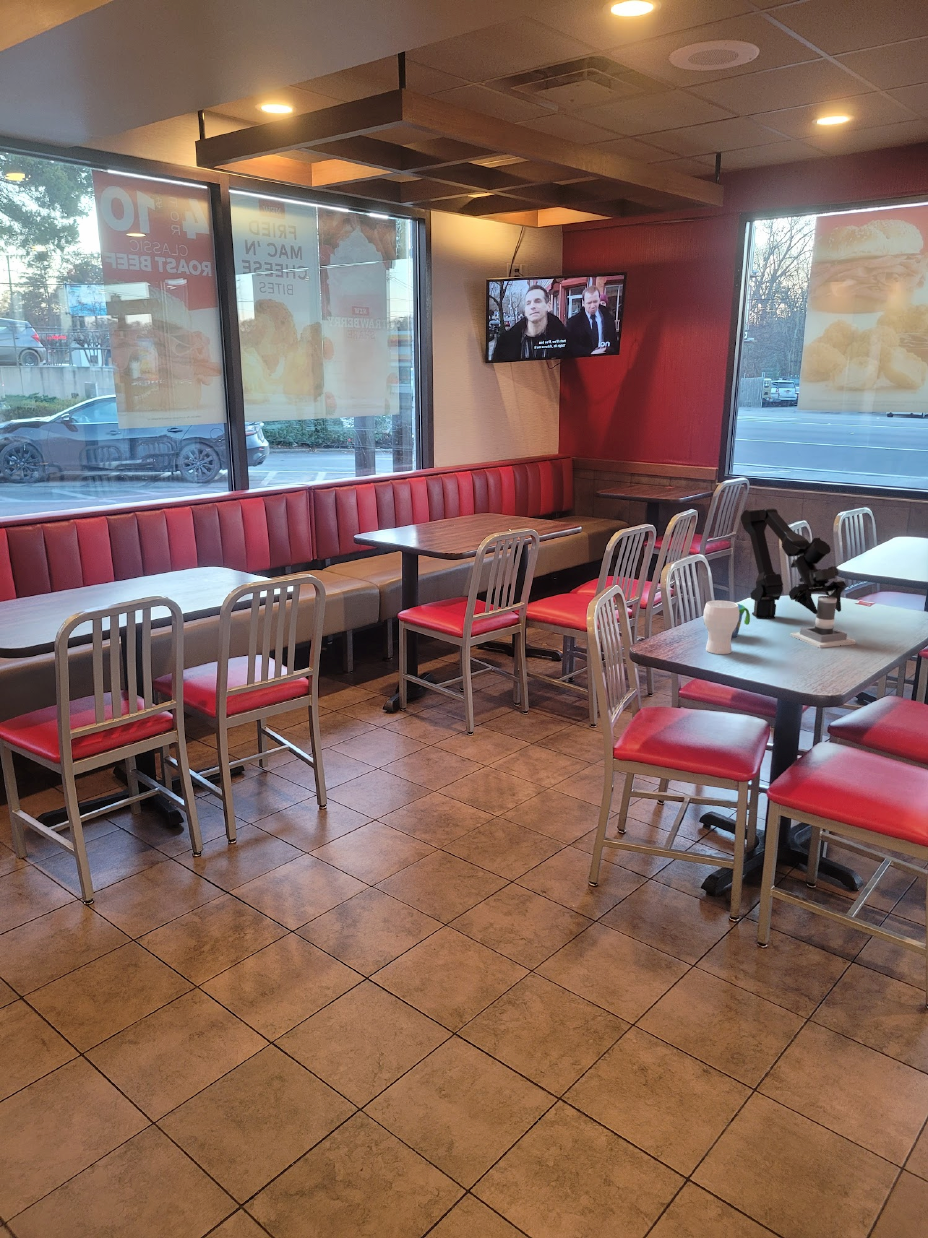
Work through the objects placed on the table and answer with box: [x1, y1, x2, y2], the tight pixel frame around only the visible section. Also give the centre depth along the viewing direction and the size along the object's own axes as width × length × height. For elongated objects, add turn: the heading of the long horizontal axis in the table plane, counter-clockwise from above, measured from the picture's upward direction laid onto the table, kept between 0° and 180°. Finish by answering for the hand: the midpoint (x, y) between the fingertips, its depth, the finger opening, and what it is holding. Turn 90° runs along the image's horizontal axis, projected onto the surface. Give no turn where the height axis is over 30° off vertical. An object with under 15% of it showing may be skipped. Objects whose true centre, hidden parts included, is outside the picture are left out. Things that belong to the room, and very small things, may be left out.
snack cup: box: [703, 602, 751, 638], centre depth 295 cm, size 16×10×10 cm
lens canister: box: [814, 595, 837, 635], centre depth 289 cm, size 6×6×13 cm
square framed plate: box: [790, 626, 857, 649], centre depth 291 cm, size 14×14×3 cm
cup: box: [703, 600, 739, 655], centre depth 278 cm, size 11×11×15 cm
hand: (828, 612), depth 288 cm, fingers open, 9 cm apart
